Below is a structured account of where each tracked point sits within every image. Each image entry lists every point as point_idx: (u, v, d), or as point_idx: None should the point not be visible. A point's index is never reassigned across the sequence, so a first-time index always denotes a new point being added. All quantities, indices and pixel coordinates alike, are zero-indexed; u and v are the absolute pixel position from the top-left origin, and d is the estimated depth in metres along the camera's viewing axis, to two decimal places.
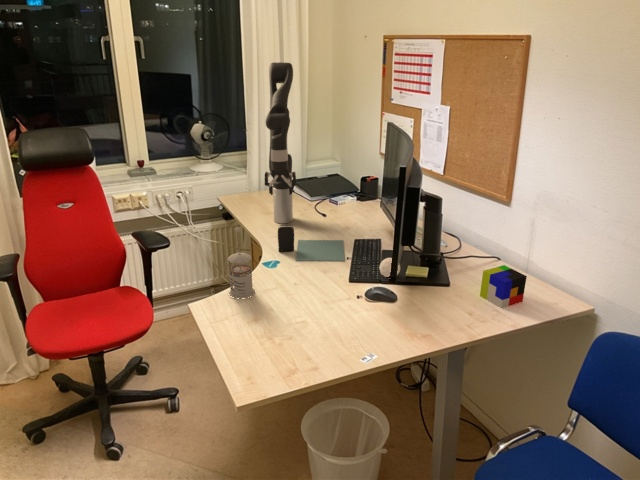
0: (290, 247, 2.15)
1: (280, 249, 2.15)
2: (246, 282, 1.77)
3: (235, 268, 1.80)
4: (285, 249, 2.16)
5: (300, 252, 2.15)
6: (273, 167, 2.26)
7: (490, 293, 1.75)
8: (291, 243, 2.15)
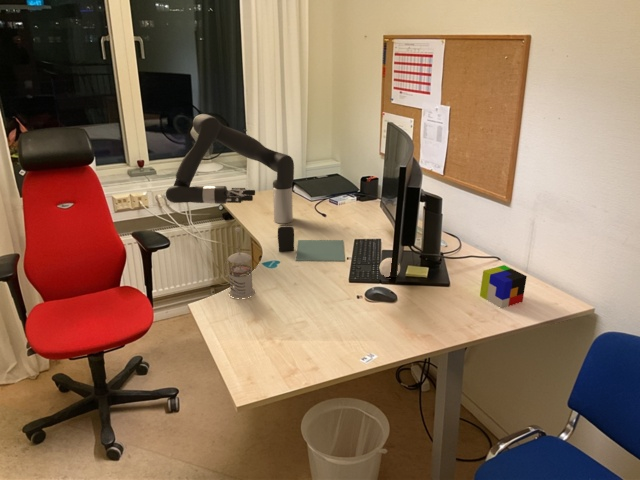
0: (290, 247, 2.15)
1: (280, 249, 2.15)
2: (246, 282, 1.77)
3: (235, 268, 1.80)
4: (285, 249, 2.16)
5: (300, 252, 2.15)
6: None
7: (490, 293, 1.75)
8: (291, 243, 2.15)
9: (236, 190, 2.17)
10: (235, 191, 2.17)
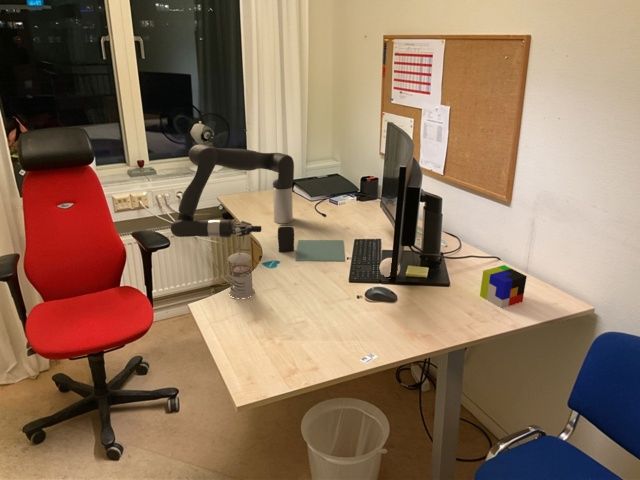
0: (290, 247, 2.15)
1: (280, 249, 2.15)
2: (246, 282, 1.77)
3: (235, 268, 1.80)
4: (285, 249, 2.16)
5: (300, 252, 2.15)
6: None
7: (490, 293, 1.75)
8: (291, 243, 2.15)
9: (240, 224, 2.14)
10: None
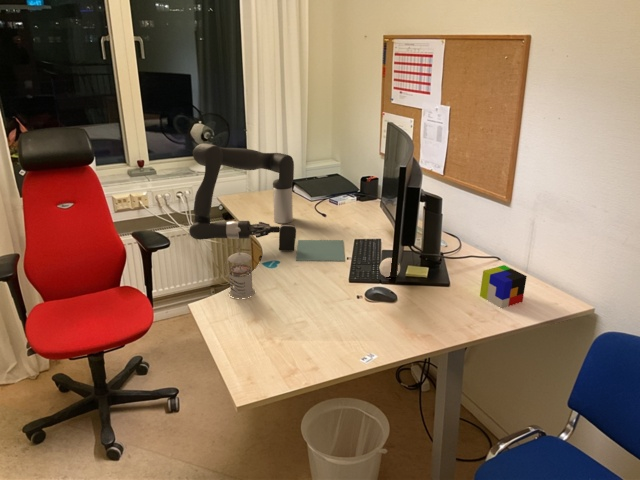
0: (290, 247, 2.15)
1: (280, 248, 2.15)
2: (246, 282, 1.77)
3: (235, 268, 1.80)
4: (285, 248, 2.16)
5: (300, 252, 2.15)
6: None
7: (490, 293, 1.75)
8: (292, 242, 2.15)
9: (259, 225, 2.14)
10: None
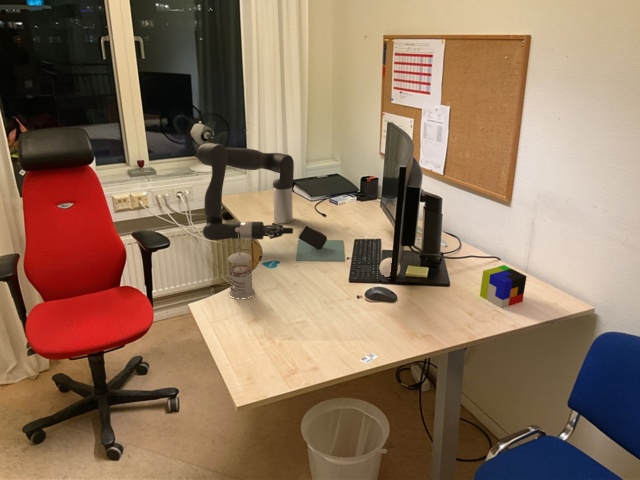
0: (304, 237, 2.15)
1: (307, 228, 2.14)
2: (246, 282, 1.77)
3: (235, 268, 1.80)
4: (304, 232, 2.14)
5: (300, 252, 2.15)
6: None
7: (490, 293, 1.75)
8: (307, 240, 2.15)
9: (272, 226, 2.14)
10: None
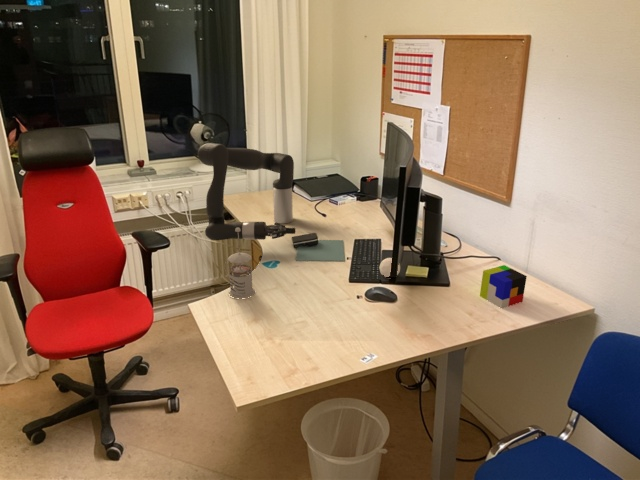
0: (296, 240, 2.20)
1: (294, 236, 2.23)
2: (246, 282, 1.77)
3: (235, 268, 1.80)
4: (294, 238, 2.21)
5: (300, 252, 2.15)
6: None
7: (490, 293, 1.75)
8: (301, 239, 2.19)
9: (274, 226, 2.14)
10: None
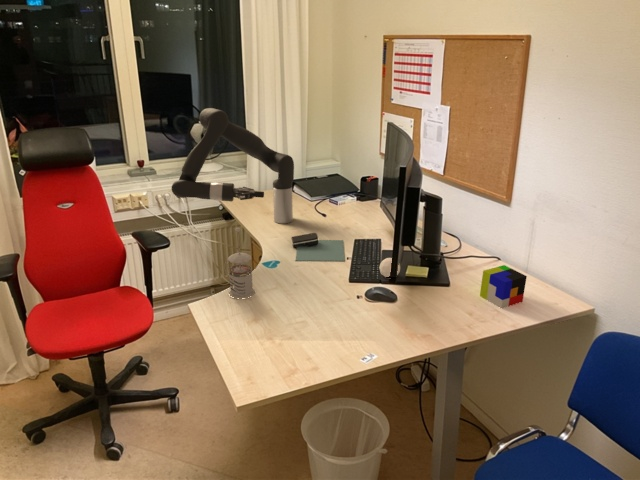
0: (296, 240, 2.20)
1: (294, 236, 2.23)
2: (246, 282, 1.77)
3: (235, 268, 1.80)
4: (294, 238, 2.21)
5: (300, 252, 2.15)
6: None
7: (490, 293, 1.75)
8: (301, 239, 2.19)
9: (243, 189, 2.12)
10: (242, 190, 2.13)
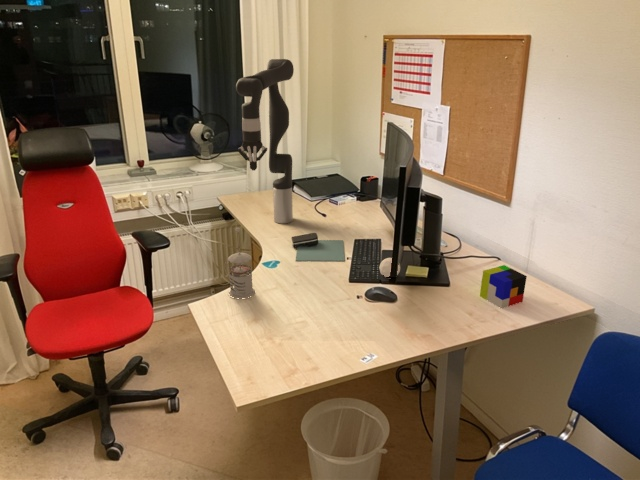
0: (296, 240, 2.20)
1: (293, 236, 2.23)
2: (246, 282, 1.77)
3: (235, 268, 1.80)
4: (294, 238, 2.21)
5: (300, 252, 2.15)
6: (244, 137, 2.09)
7: (490, 293, 1.75)
8: (301, 239, 2.19)
9: None
10: None
